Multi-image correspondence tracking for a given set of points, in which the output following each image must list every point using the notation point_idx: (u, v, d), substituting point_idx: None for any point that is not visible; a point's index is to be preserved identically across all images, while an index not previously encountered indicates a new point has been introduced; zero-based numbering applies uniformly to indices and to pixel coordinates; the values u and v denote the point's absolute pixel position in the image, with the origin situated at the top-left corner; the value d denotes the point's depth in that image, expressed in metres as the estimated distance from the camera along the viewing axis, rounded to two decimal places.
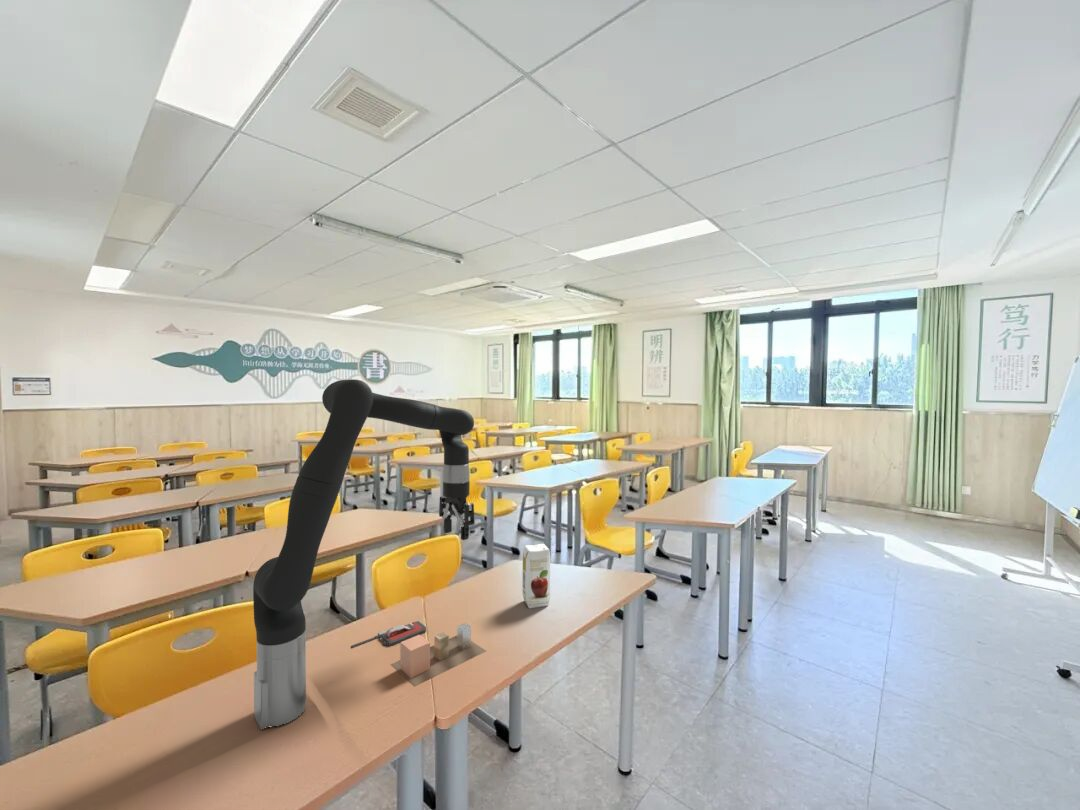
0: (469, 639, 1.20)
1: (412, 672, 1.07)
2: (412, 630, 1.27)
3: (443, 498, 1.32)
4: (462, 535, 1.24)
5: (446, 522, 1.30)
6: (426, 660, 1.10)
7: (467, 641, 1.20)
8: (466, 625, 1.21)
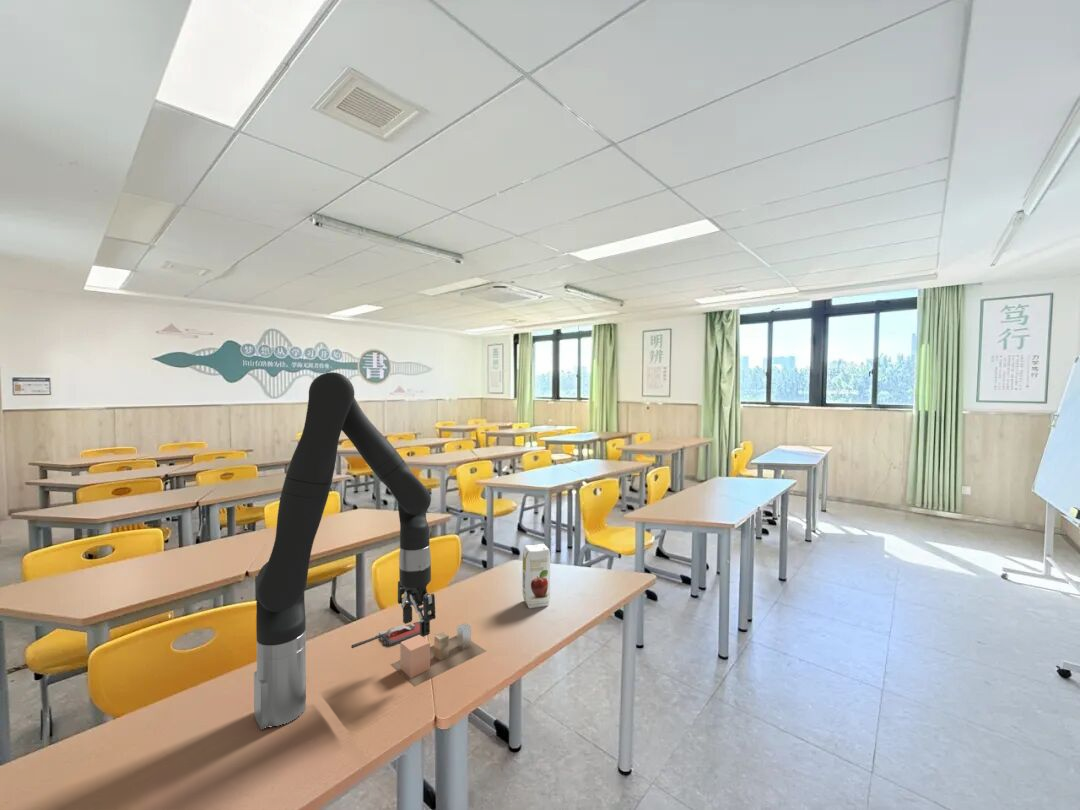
0: (469, 639, 1.20)
1: (412, 672, 1.07)
2: (413, 630, 1.26)
3: None
4: (422, 631, 1.07)
5: (405, 611, 1.13)
6: (426, 660, 1.10)
7: (467, 641, 1.20)
8: (466, 625, 1.21)
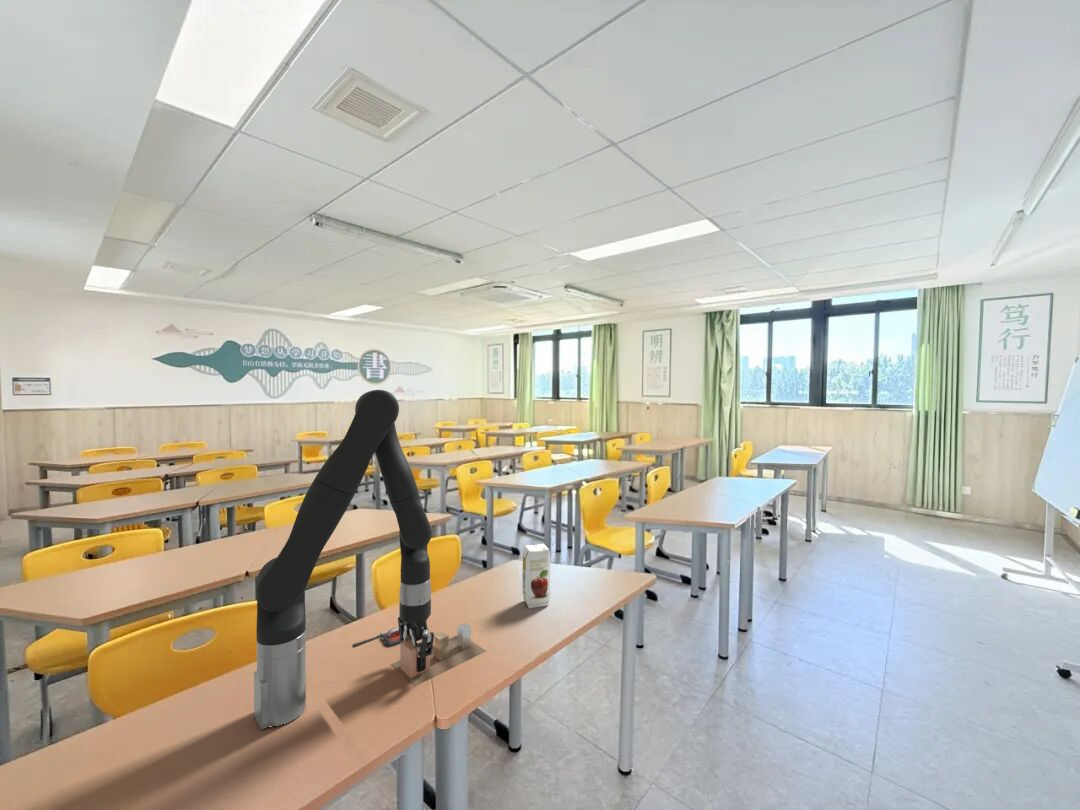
0: (469, 639, 1.20)
1: (412, 672, 1.07)
2: None
3: None
4: (418, 667, 1.08)
5: None
6: None
7: (467, 641, 1.20)
8: (466, 625, 1.21)
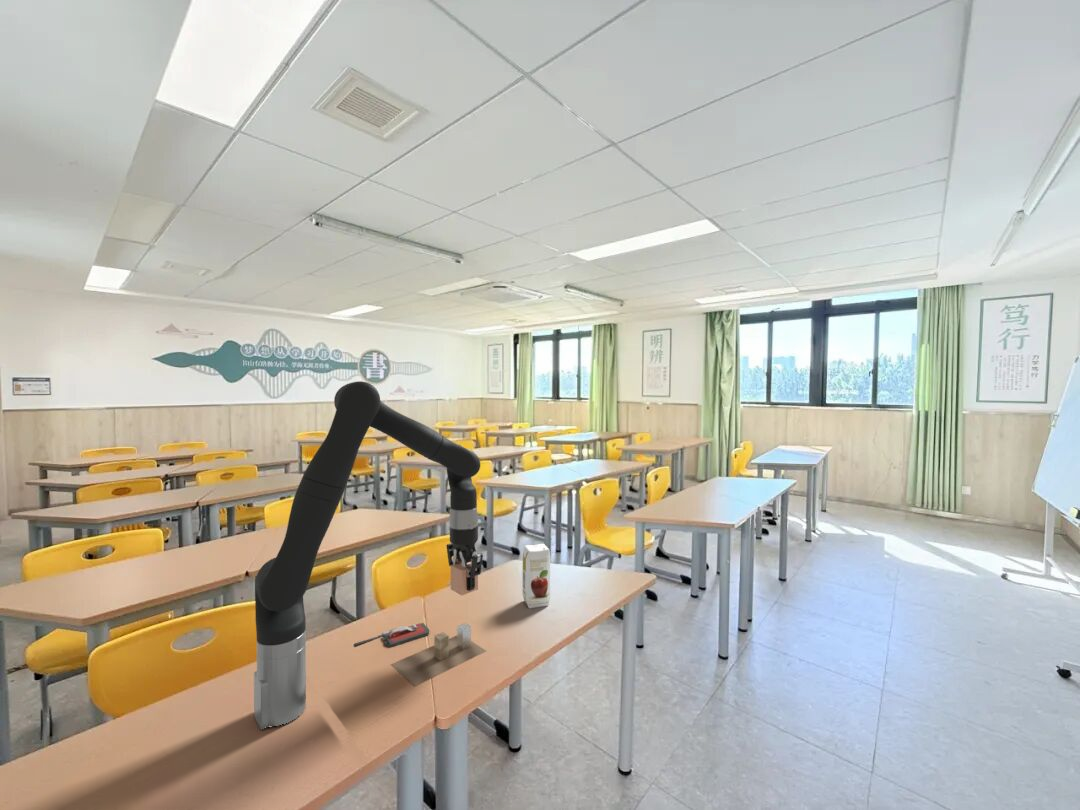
0: (469, 639, 1.20)
1: (463, 590, 1.17)
2: (414, 632, 1.26)
3: (450, 545, 1.24)
4: (468, 586, 1.18)
5: None
6: None
7: (467, 641, 1.20)
8: (466, 625, 1.21)
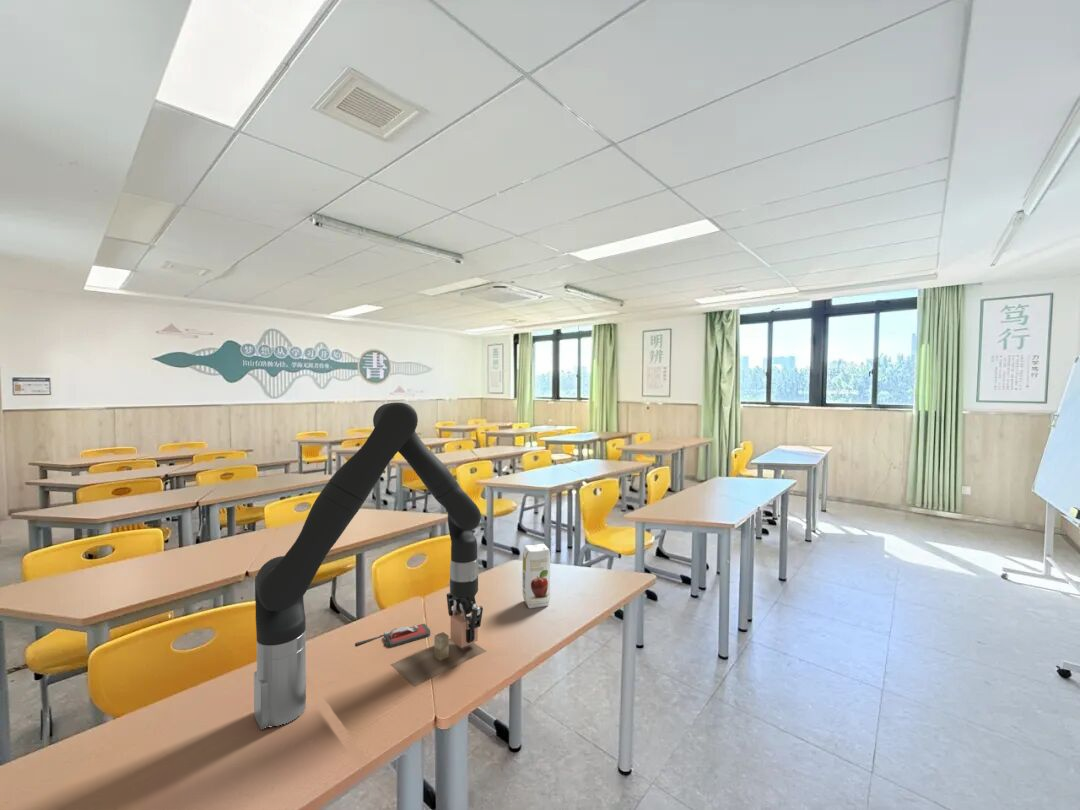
0: None
1: (463, 643, 1.18)
2: (415, 633, 1.25)
3: (450, 594, 1.24)
4: (467, 638, 1.18)
5: None
6: None
7: None
8: None
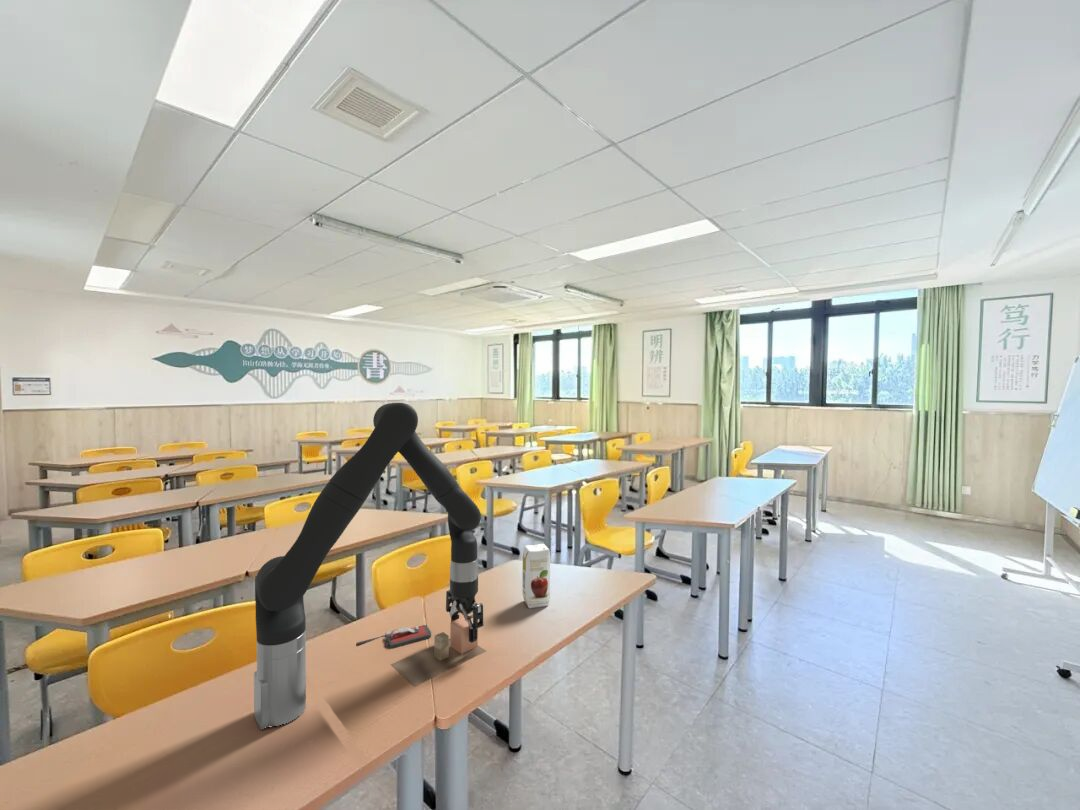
0: None
1: (463, 649, 1.17)
2: (416, 634, 1.25)
3: (450, 592, 1.24)
4: (470, 637, 1.17)
5: (453, 619, 1.23)
6: None
7: None
8: None
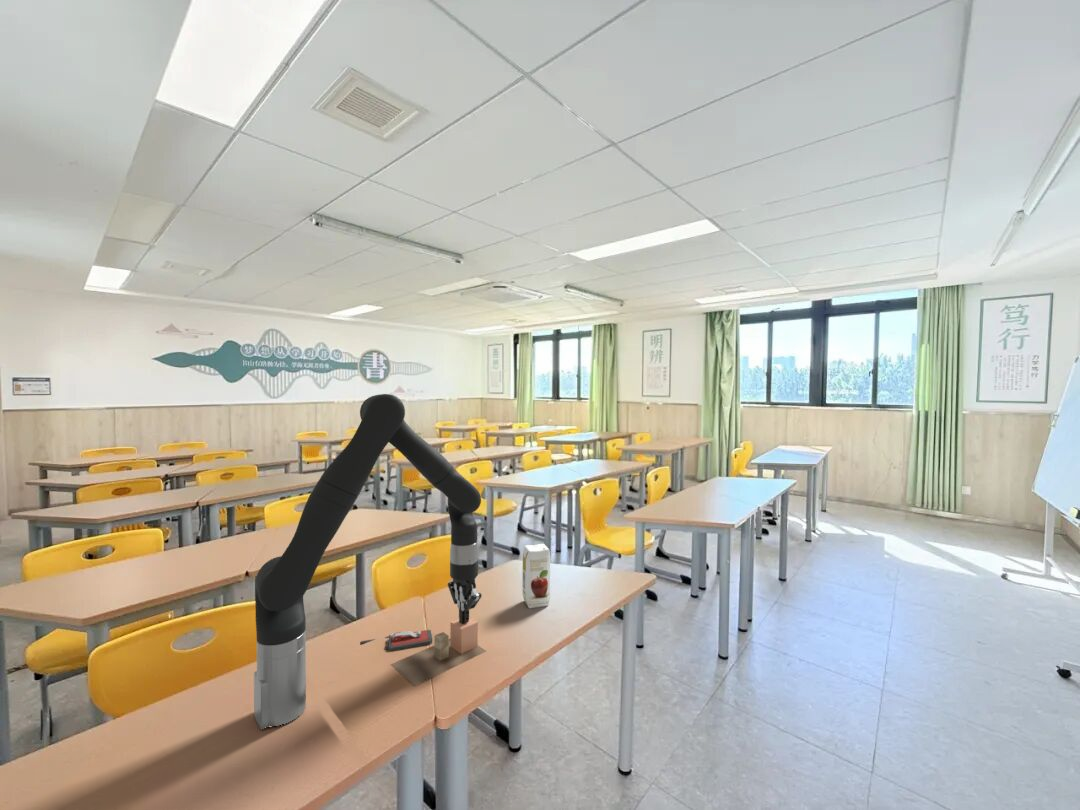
0: None
1: (463, 649, 1.17)
2: (417, 639, 1.22)
3: (451, 583, 1.24)
4: (462, 619, 1.20)
5: None
6: (474, 638, 1.20)
7: None
8: None
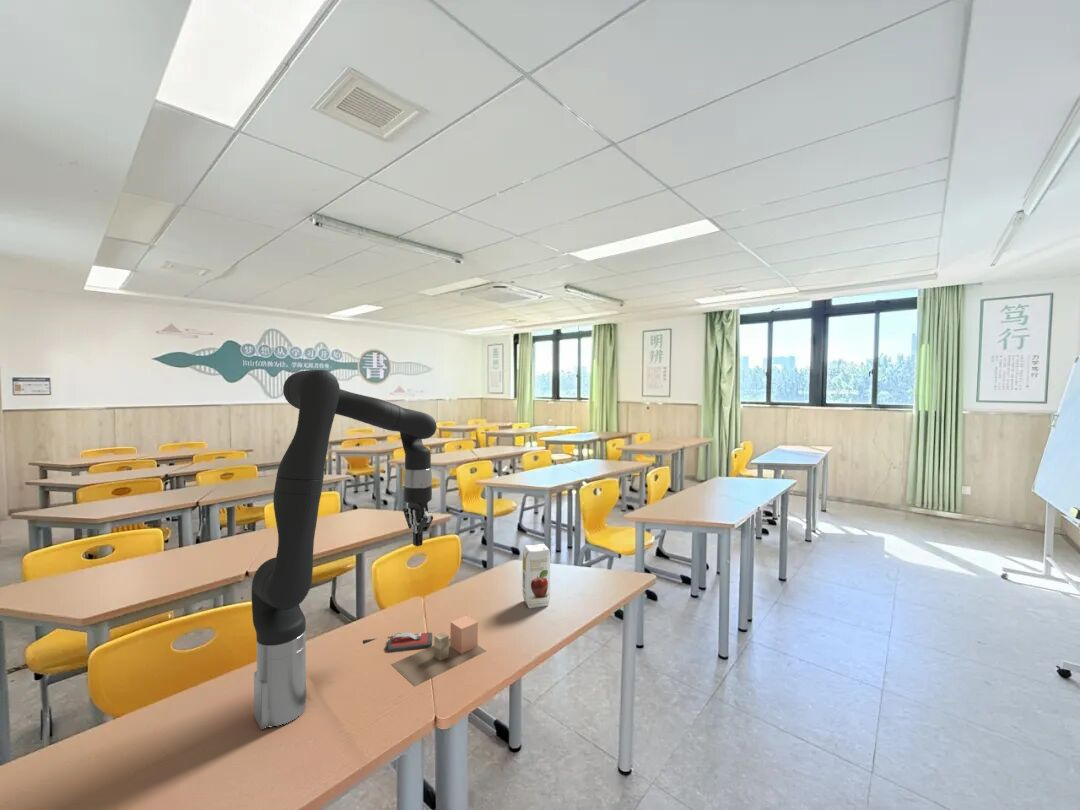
0: None
1: (463, 649, 1.17)
2: (417, 641, 1.21)
3: (406, 509, 1.29)
4: (416, 541, 1.25)
5: None
6: (474, 638, 1.20)
7: None
8: None
